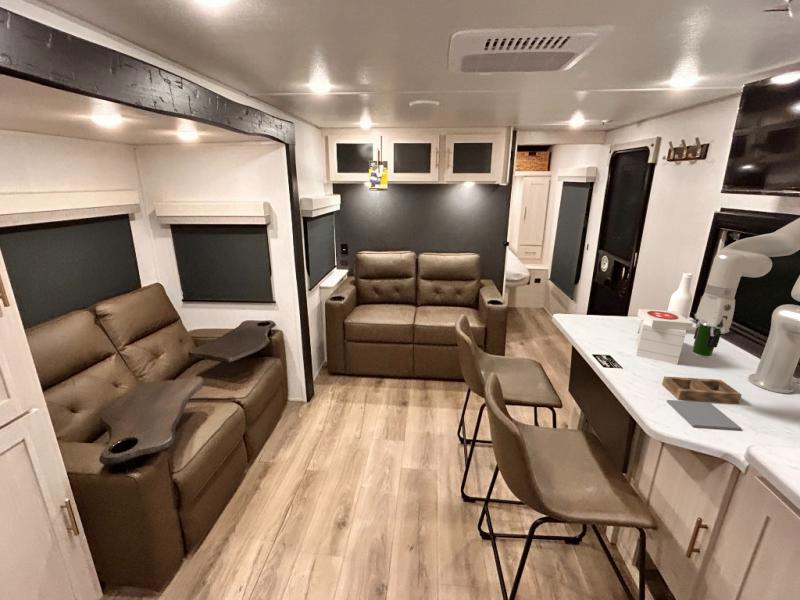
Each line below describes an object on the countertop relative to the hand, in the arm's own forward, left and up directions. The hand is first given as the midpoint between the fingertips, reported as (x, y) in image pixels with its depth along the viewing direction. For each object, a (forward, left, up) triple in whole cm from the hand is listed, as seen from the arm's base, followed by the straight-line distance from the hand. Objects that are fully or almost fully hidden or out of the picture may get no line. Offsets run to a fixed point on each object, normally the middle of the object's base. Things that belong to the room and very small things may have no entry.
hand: (704, 342), depth 126 cm
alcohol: (-34, -68, -22) cm, 79 cm away
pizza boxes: (-11, -42, -22) cm, 48 cm away
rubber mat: (+2, +10, -22) cm, 24 cm away
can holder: (-6, -4, -22) cm, 23 cm away
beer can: (0, 0, -5) cm, 5 cm away
